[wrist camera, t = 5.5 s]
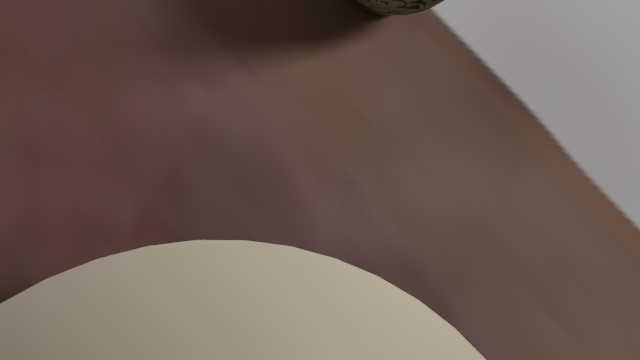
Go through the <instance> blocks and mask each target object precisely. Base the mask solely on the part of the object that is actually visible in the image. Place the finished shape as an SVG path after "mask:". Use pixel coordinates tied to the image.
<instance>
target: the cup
mask: <svg viewBox="0 0 640 360" xmlns="http://www.w3.org/2000/svg"><path fill="white" fill-rule="evenodd" d="M354 1H355V2H356V3H357V4H358V5H359V6H360V7H361V8H363V9H364V10H366V11H368V12H370V13H373V14H377V15H391V14H393V15H406V14H413V13H417V12H421V11H424V10H427V9H429V8H431V7H433V6H435V5H437V4H439V3H440V2H442V1H444V0H354Z"/></svg>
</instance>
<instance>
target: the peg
mask: <svg viewBox="0 0 640 360" xmlns="http://www.w3.org/2000/svg"><path fill="white" fill-rule="evenodd" d="M0 360H486V359H485V358H484V357H483V356H482V355H481V354H480V353H479V352H478V351H477V350H476V349H475V348H474V347H473V346H472V345H471V344H470V343H469V342H468V341H467V340H466V339H465V338H464V337H463V336H462V335H461V334H460V333H459V332H458V331H457V330H456V329H455V328H454V327H452V326H451V325H450V324H449V323H447V322H446V321H445V320H443V319H442V318H441V317H440V316H438V315H437V314H436V313H434V312H433V311H432V310H431V309H429V308H428V307H427V306H425V305H424V304H423V303H422V302H420V301H419V300H418V299H416V298H414V297H412V296H411V295H409V294H407V293H406V292H404V291H402V290H401V289H399V288H397V287H395V286H394V285H392V284H390V283H389V282H387V281H385V280H383V279H382V278H380V277H378V276H376V275H374V274H371V273H369V272H366V271H364V270H362V269H359V268H357V267H355V266H352V265H350V264H347V263H345V262H343V261H340V260H338V259H335V258H332V257H328V256H324V255H321V254H317V253H313V252H310V251H306V250H302V249H298V248H295V247H291V246H284V245H276V244H269V243H261V242H254V241H246V240H193V241H185V242H177V243H169V244H161V245H153V246H146V247H142V248H138V249H134V250H130V251H126V252H123V253H119V254H115V255H111V256H107V257H103V258H99V259H96V260H93V261H91V262H88V263H86V264H83V265H80V266H78V267H75V268H73V269H70V270H68V271H65V272H63V273H60V274H57V275H55V276H52V277H50V278H47V279H45V280H43V281H42V282H40V283H38V284H36V285H34V286H32V287H30V288H29V289H27V290H25V291H23V292H21V293H19V294H17V295H16V296H14V297H12V298H10V299H8V300H6V301H4V302H2V303H1V304H0Z"/></svg>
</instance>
